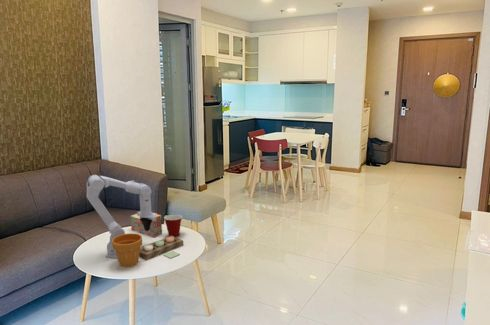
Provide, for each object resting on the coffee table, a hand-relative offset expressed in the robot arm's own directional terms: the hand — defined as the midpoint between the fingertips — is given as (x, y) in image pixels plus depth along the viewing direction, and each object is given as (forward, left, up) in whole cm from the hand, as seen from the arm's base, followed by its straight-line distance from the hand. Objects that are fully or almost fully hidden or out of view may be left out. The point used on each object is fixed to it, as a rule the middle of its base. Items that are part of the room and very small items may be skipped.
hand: (147, 230), depth 203 cm
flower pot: (-20, +1, -10) cm, 22 cm away
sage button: (-3, -8, -8) cm, 12 cm away
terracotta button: (+3, -12, -8) cm, 14 cm away
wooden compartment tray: (-3, -8, -9) cm, 13 cm away
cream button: (-9, -5, -8) cm, 13 cm away
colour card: (-8, -17, -9) cm, 21 cm away
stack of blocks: (+19, +11, -10) cm, 24 cm away
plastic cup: (+17, -8, -10) cm, 21 cm away
